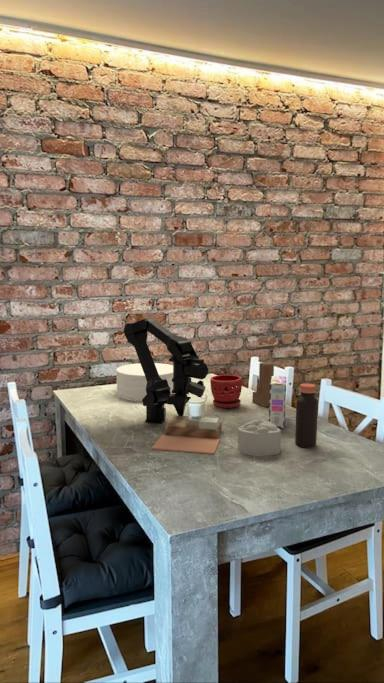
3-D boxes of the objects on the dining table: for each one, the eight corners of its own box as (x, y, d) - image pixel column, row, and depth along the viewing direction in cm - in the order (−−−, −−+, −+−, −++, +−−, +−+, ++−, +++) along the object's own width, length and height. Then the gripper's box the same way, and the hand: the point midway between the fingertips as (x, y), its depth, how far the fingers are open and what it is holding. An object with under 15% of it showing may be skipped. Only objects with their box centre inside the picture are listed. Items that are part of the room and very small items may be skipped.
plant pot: (233, 399, 219) (234, 373, 217) (246, 408, 207) (247, 379, 205) (205, 402, 215) (206, 374, 213) (216, 410, 202) (217, 381, 201)
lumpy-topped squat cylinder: (283, 454, 156) (284, 427, 155) (242, 457, 154) (243, 429, 152) (271, 442, 166) (272, 417, 165) (233, 445, 164) (234, 419, 162)
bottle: (290, 442, 166) (293, 383, 163) (307, 439, 169) (310, 381, 166) (303, 449, 160) (305, 388, 157) (320, 446, 163) (323, 386, 160)
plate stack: (144, 383, 249) (144, 360, 248) (190, 391, 233) (190, 367, 231) (103, 394, 227) (103, 370, 225) (151, 405, 211) (150, 378, 209)
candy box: (284, 428, 181) (286, 384, 178) (268, 427, 182) (269, 383, 179) (285, 417, 194) (286, 375, 192) (270, 416, 195) (271, 375, 193)
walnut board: (165, 436, 172) (165, 427, 172) (172, 426, 182) (172, 418, 181) (217, 439, 168) (217, 431, 168) (221, 430, 178) (221, 422, 178)
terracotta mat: (152, 449, 160) (152, 447, 160) (162, 436, 172) (162, 434, 172) (214, 454, 156) (214, 452, 156) (219, 440, 168) (220, 439, 168)
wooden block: (252, 402, 216) (253, 360, 213) (260, 400, 218) (261, 360, 215) (264, 407, 208) (265, 364, 205) (273, 406, 210) (274, 363, 207)
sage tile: (199, 428, 171) (199, 421, 170) (201, 424, 176) (201, 417, 175) (216, 429, 170) (216, 422, 169) (218, 425, 174) (218, 418, 174)
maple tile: (167, 426, 173) (167, 419, 173) (171, 421, 178) (171, 415, 177) (184, 427, 172) (184, 420, 171) (187, 423, 177) (187, 416, 176)
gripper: (199, 382, 166) (198, 427, 169) (208, 370, 184) (207, 411, 187) (166, 380, 168) (166, 425, 171) (178, 369, 187) (178, 410, 189)
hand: (181, 417), depth 179 cm, fingers closed
